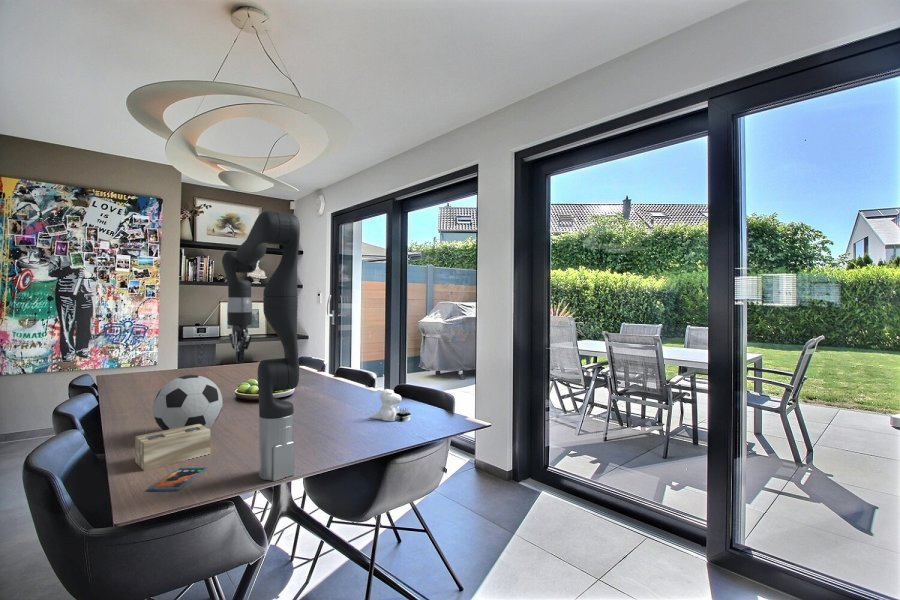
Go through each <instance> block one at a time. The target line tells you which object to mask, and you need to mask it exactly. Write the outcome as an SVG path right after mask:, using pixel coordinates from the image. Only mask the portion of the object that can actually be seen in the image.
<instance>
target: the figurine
mask: <svg viewBox="0 0 900 600" xmlns="http://www.w3.org/2000/svg"><path fill="white" fill-rule="evenodd" d="M379 398H380V401H381V404H382V405H381V407H380V409H379V411H378V412H376V413H372V414H371V415H370V416H368V418H369V419H373V420H380V421H381V420H382V421H384V422H395V421H397V422H409V421H410V420H411V416H412V413H410V412H409V408H406V407H405V408H404V407H402V408H401V409H400V406H397V407H396V408H395V405H398V404H400V403H401V402H402V396H401V395H400V394H398V393H395V391H394V390H393V389H389V388H386V389H385V388H384V390H382V391H381V392H380V395H379Z"/></svg>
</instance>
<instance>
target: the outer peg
mask: <svg viewBox="0 0 900 600" xmlns="http://www.w3.org/2000/svg"><path fill="white" fill-rule="evenodd" d="M161 437H162V435H155V436H151V437H149V438H148V440H151V439H156V438H161Z"/></svg>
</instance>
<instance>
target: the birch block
mask: <svg viewBox="0 0 900 600" xmlns="http://www.w3.org/2000/svg"><path fill="white" fill-rule="evenodd" d="M189 428H198V430H195V431H190V432H185V430H186V429H189ZM155 435H162V437H161V438H156V439H151V440H148V438H149V437H151V436H155ZM134 438H135V439H134V440H135V443H134V444H135V446H134V448H135V454H134V455H135V463H136V465H138V467H140V468H141V469H142V470H143V471H146V472H147V471H149V470H154V469H157V468H162V467H165V466H169V465H173V464H176V463H177V462H178V463H181V461H182V462H184V461H185V460H186V461H189V460H188V459H190V460H193V459H192V458H194V459H196V457H198V458H201V457H200V456H202V457H205V456H204V455H206V456H209V455H208V454H210V455H211V429H210V428H206V427H205V426H203V425H201V424H195V425H190V426H185V427H180V428H175V429H170V430H165V431H164V430H160V431H155V432H151V433H145V434H140V435H139V434H138V435H135V437H134ZM186 461H185V462H186ZM178 463H177V464H178ZM153 468H154V469H153Z"/></svg>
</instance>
